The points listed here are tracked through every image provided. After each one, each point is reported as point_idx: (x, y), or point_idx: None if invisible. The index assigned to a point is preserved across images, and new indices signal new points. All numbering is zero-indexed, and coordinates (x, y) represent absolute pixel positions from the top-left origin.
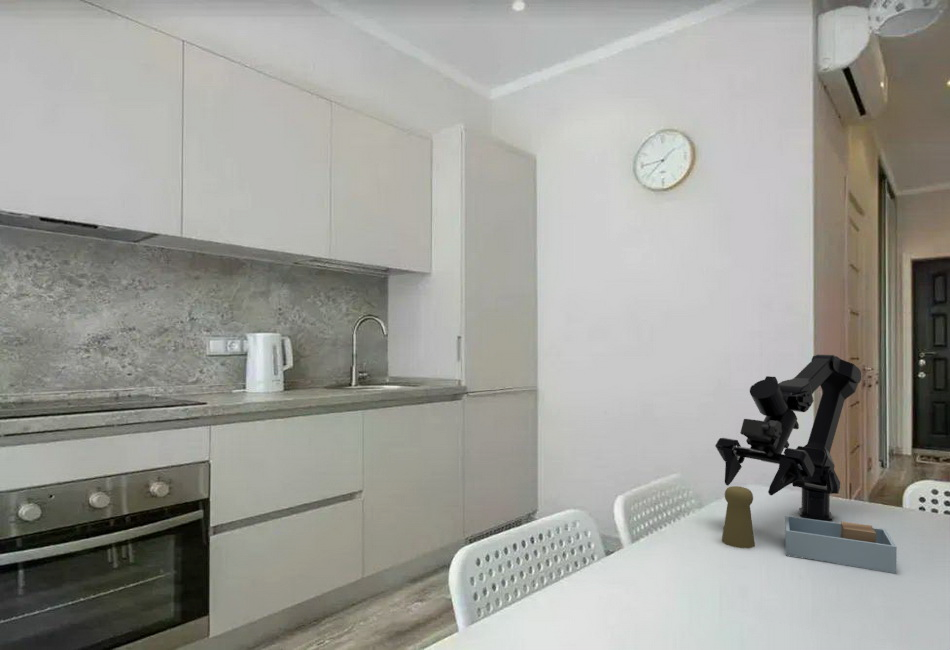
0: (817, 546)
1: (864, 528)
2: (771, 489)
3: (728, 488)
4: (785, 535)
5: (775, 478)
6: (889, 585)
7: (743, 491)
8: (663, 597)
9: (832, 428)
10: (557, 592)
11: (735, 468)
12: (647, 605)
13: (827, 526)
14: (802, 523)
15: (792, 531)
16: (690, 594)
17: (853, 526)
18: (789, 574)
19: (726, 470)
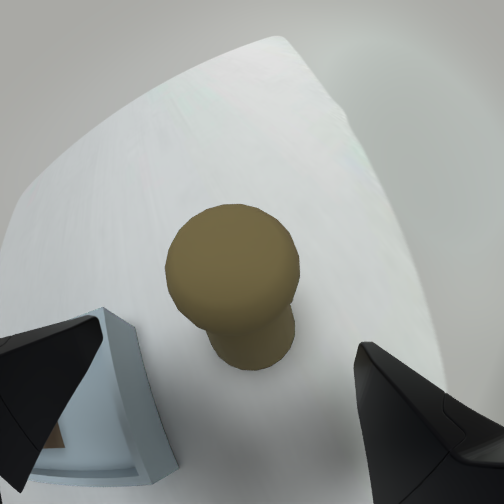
0: None
1: None
2: (77, 318)
3: (270, 220)
4: (143, 404)
5: (28, 338)
6: (15, 303)
7: (189, 222)
8: (226, 88)
9: None
10: (294, 60)
11: (395, 495)
12: (228, 77)
13: (65, 475)
14: (113, 475)
15: (90, 313)
16: (209, 102)
17: None
18: (116, 229)
19: (419, 382)
